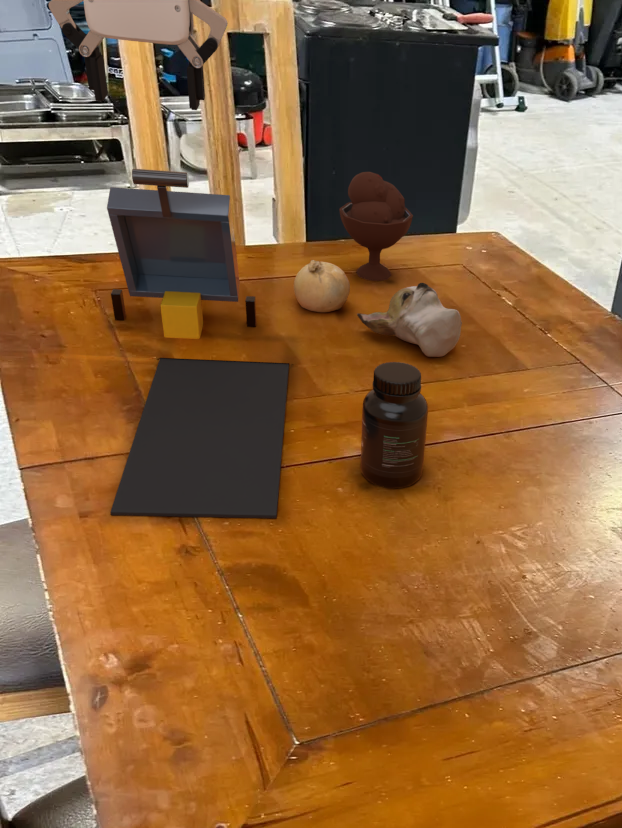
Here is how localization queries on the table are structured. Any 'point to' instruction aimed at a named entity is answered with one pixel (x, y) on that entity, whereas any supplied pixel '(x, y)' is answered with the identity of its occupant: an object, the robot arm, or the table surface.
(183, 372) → the mat
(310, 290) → the onion
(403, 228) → the ice cream bowl
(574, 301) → the table surface
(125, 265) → the blue-grey tray
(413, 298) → the ceramic sculpture
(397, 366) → the supplement bottle
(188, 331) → the block
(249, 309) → the dark brown post pair
